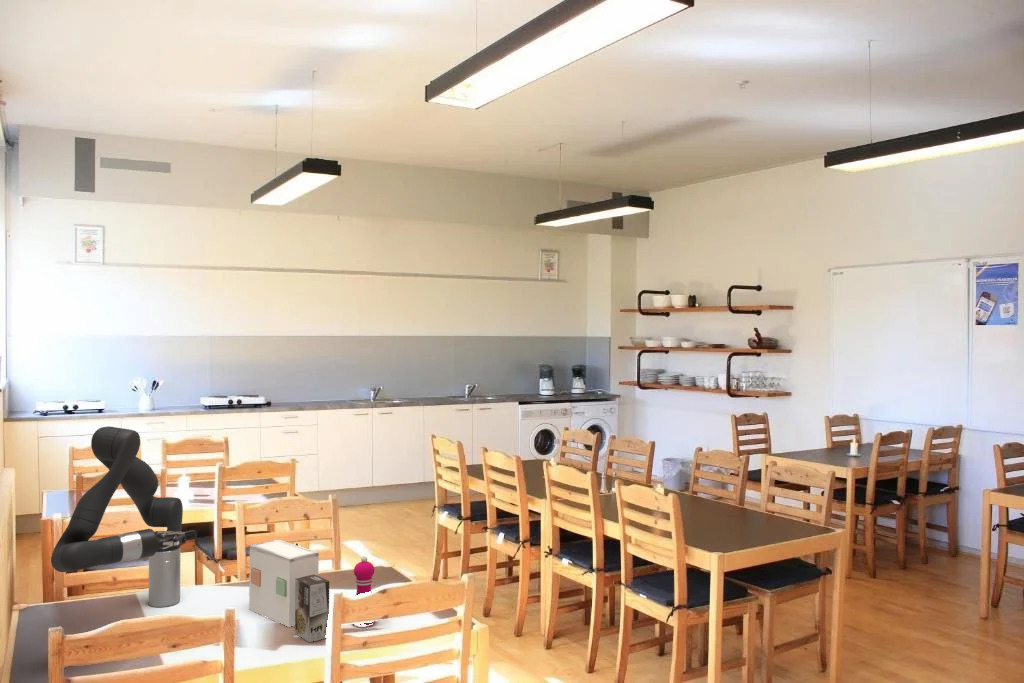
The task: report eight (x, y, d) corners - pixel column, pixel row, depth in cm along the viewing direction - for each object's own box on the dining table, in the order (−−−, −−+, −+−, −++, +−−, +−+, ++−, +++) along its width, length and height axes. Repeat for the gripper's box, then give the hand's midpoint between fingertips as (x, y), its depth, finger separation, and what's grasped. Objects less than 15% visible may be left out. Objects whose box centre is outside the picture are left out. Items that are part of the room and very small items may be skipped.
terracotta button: (250, 583, 251) (251, 568, 251) (262, 580, 254) (262, 566, 254) (258, 586, 248) (258, 571, 248) (270, 583, 251) (270, 569, 251)
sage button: (275, 593, 242) (276, 578, 242) (287, 590, 245) (287, 575, 244) (284, 596, 239) (284, 581, 239) (296, 593, 242) (296, 578, 242)
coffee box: (329, 637, 231) (330, 581, 230) (309, 643, 226) (309, 585, 226) (314, 628, 238) (315, 573, 237) (294, 633, 233) (294, 577, 233)
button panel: (249, 609, 253) (249, 545, 252) (277, 601, 260) (278, 539, 260) (289, 627, 238) (289, 559, 238) (318, 618, 245) (318, 552, 245)
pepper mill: (365, 617, 247) (365, 551, 247) (381, 623, 242) (381, 556, 242) (346, 624, 241) (346, 556, 241) (362, 630, 237) (362, 561, 237)
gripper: (145, 536, 217) (207, 524, 230) (124, 527, 226) (185, 517, 238) (145, 564, 217) (207, 551, 230) (124, 554, 226) (184, 542, 239)
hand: (195, 534), depth 234 cm, fingers closed
